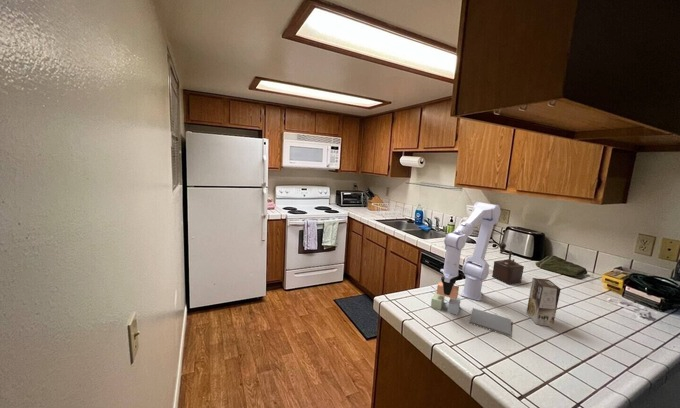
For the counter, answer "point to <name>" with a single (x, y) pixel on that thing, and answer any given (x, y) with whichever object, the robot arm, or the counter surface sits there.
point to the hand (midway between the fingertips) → (447, 292)
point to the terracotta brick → (452, 295)
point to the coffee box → (543, 301)
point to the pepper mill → (507, 269)
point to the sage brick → (437, 301)
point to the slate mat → (491, 321)
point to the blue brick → (454, 305)
